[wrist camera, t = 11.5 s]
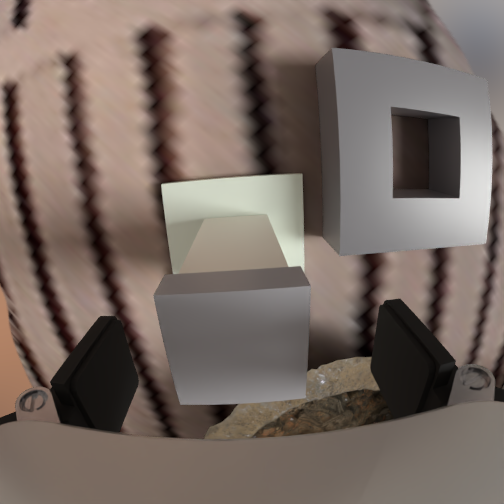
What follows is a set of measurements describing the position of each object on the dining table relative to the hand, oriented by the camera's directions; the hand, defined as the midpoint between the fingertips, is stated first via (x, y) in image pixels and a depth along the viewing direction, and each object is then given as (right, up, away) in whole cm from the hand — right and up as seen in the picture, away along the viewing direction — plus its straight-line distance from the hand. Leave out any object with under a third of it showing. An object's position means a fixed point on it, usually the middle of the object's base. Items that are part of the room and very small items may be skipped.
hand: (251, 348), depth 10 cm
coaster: (-1, +4, +11) cm, 12 cm away
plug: (-1, +4, +10) cm, 11 cm away
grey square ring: (+11, +10, +9) cm, 17 cm away
